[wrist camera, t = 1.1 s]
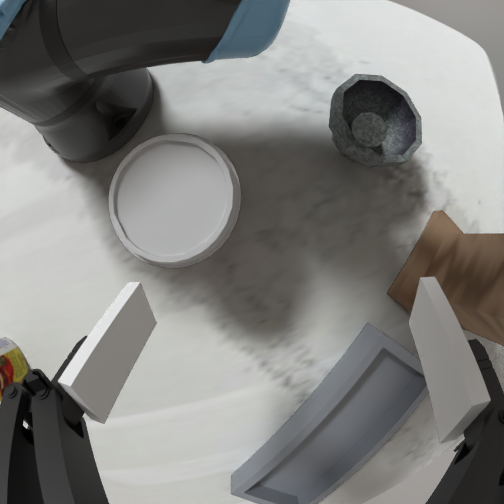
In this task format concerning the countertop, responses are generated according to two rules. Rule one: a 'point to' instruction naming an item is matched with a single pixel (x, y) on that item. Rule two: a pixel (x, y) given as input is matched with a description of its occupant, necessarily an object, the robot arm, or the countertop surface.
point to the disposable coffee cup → (174, 200)
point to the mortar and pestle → (374, 121)
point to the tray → (336, 425)
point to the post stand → (458, 275)
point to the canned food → (11, 364)
